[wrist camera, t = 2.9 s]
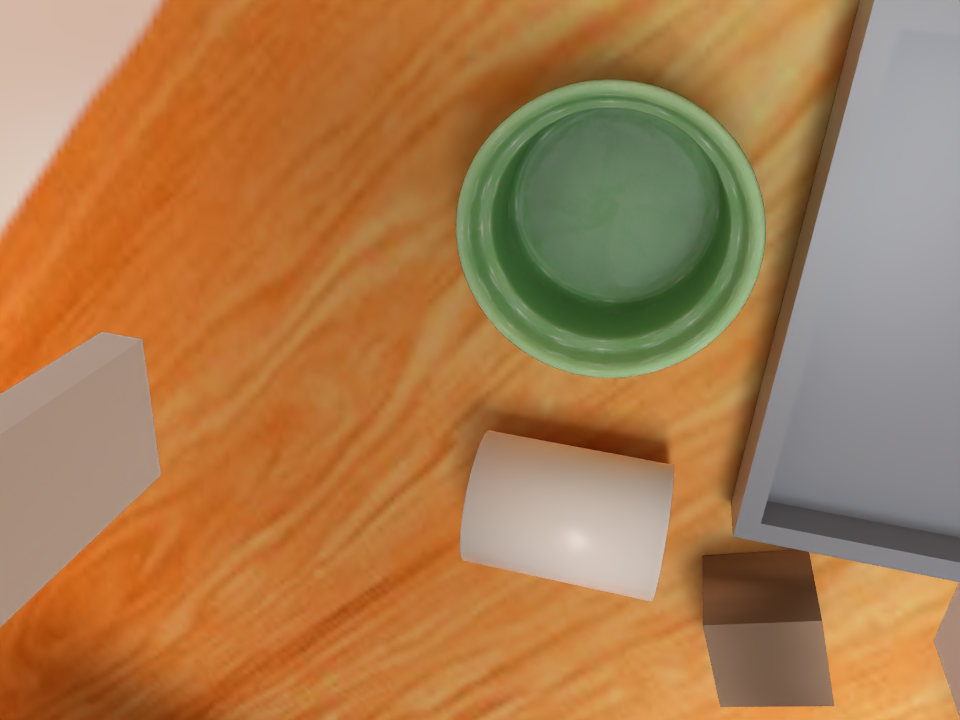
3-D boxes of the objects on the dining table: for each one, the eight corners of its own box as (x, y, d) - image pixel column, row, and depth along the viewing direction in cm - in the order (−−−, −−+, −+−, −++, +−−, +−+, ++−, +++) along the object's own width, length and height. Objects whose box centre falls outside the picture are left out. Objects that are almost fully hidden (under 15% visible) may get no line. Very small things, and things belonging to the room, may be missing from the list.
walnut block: (718, 630, 34) (720, 706, 31) (702, 554, 33) (703, 625, 29) (819, 626, 33) (834, 706, 29) (808, 547, 31) (821, 620, 28)
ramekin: (700, 356, 29) (700, 415, 25) (463, 283, 30) (429, 329, 26) (801, 106, 25) (820, 132, 21) (522, 30, 26) (490, 42, 22)
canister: (495, 468, 34) (465, 579, 32) (489, 405, 30) (455, 528, 27) (661, 500, 33) (645, 620, 30) (679, 440, 29) (663, 572, 26)
